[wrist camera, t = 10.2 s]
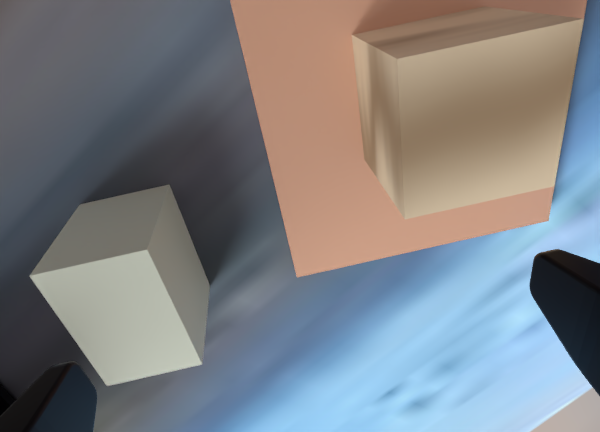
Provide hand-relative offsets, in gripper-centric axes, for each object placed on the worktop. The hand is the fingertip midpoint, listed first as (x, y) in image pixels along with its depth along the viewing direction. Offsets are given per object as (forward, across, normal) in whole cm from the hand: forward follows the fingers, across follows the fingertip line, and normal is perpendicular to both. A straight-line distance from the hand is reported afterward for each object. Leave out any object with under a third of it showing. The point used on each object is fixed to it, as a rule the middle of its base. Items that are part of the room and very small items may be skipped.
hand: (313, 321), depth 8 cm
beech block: (+10, -6, -1) cm, 12 cm away
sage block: (+11, +7, +4) cm, 14 cm away
